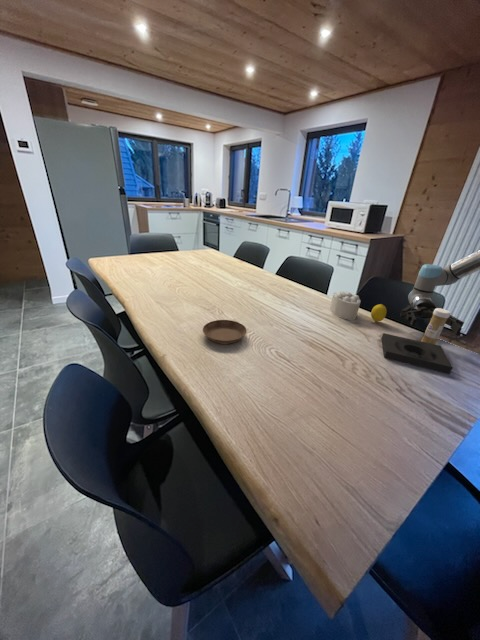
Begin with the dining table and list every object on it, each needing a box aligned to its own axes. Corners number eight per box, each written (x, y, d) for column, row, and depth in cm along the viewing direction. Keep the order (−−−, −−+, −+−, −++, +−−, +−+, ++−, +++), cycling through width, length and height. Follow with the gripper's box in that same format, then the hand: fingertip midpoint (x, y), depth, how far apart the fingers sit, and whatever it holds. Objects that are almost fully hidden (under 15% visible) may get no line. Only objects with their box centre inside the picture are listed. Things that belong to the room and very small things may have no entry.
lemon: (383, 321, 112) (389, 303, 108) (382, 325, 107) (388, 307, 104) (369, 317, 114) (375, 300, 111) (367, 322, 110) (373, 304, 106)
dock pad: (437, 351, 91) (440, 345, 90) (449, 374, 79) (452, 367, 78) (381, 338, 97) (383, 332, 96) (384, 358, 85) (386, 351, 84)
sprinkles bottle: (417, 341, 97) (431, 308, 92) (426, 340, 99) (441, 307, 93) (428, 347, 94) (444, 313, 88) (438, 346, 95) (454, 312, 89)
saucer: (199, 345, 84) (199, 338, 82) (206, 324, 97) (206, 318, 96) (245, 349, 84) (246, 341, 82) (246, 327, 97) (246, 321, 96)
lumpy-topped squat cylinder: (349, 308, 123) (354, 290, 119) (361, 320, 111) (367, 301, 107) (327, 306, 122) (331, 289, 118) (337, 318, 110) (342, 299, 107)
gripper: (454, 321, 108) (473, 345, 90) (388, 308, 116) (393, 328, 98) (462, 305, 105) (483, 326, 87) (393, 292, 113) (399, 309, 95)
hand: (435, 327), depth 93 cm, fingers open, 13 cm apart
